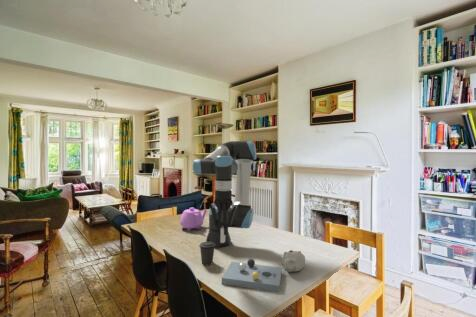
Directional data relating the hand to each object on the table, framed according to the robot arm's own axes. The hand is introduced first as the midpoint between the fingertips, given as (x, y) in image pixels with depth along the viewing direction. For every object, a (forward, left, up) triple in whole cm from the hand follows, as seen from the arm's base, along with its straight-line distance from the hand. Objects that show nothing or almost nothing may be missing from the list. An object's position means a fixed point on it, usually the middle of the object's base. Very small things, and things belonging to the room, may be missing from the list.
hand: (222, 241), depth 110 cm
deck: (+14, 0, -15) cm, 21 cm away
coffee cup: (-11, +9, -15) cm, 21 cm away
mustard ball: (+16, -5, -11) cm, 20 cm away
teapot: (-40, +60, -15) cm, 74 cm away
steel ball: (+9, 0, -11) cm, 14 cm away
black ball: (+12, +6, -11) cm, 17 cm away
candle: (+31, +14, -15) cm, 37 cm away
